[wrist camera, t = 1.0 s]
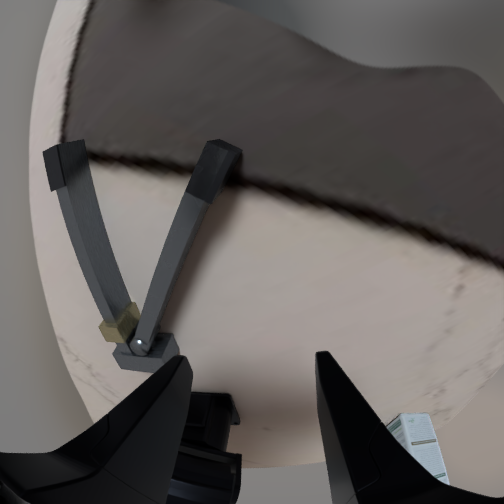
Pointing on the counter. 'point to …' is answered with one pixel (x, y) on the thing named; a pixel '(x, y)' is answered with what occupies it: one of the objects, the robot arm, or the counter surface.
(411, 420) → the syrup box
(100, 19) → the counter surface
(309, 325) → the counter surface
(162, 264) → the tongs arm
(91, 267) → the tongs
